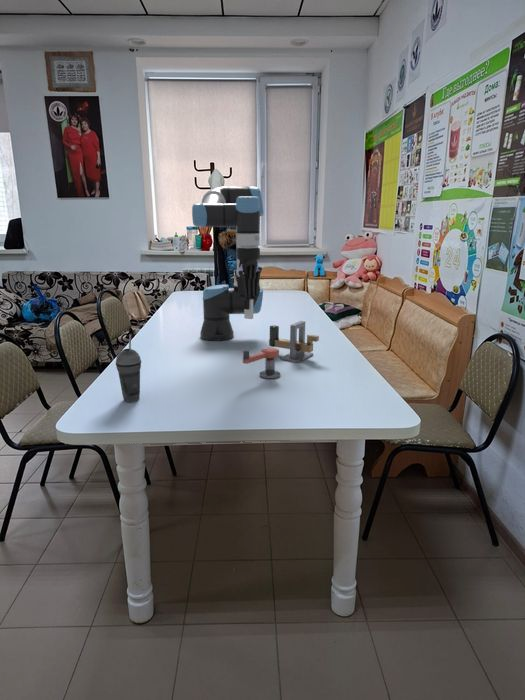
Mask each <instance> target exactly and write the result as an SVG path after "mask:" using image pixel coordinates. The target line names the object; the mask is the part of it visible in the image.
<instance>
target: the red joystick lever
mask: <svg viewBox="0 0 525 700" xmlns="http://www.w3.org/2000/svg"><path fill="white" fill-rule="evenodd" d="M279 356H280V350H279V349H278V348H275V347H266V348H262V349H261V351H260V352H258V353H254V354H250V350H243V351H242V363H243V364H246V365H248V364H251V363H253V362H257V361H261V360H263V359H265V358H275V359H276V358H278V357H279Z"/></svg>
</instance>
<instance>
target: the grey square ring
mask: <svg viewBox="0 0 525 700" xmlns="http://www.w3.org/2000/svg"><path fill="white" fill-rule="evenodd" d="M289 330H290V332H289V333H290V334H289V340H290V349H289V353H287V354H285V355H282V356H281V357H280V360H281V361H286V362H292V363H298V364H300V363H302V362H303V361H305V360H307V359H309V358H311V357H312V356H314V352H310V353H309V352H303V351H297V350H296V349H297V341H299V342H305V343H306V321H304V320H299V321H297V322H294V323H292V324H290V327H289ZM297 337H298V339H297Z"/></svg>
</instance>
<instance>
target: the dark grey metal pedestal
mask: <svg viewBox="0 0 525 700" xmlns="http://www.w3.org/2000/svg"><path fill="white" fill-rule="evenodd" d="M264 359H265V361H264V365H265V367H264V368H265V370H262V371H260V372H259V377H260V378H262V379H264V380H275V379H279V378H280V377H281V372H279V370H278V371H277V370H276V368H275V366H276V360H275V359H276V358H264Z"/></svg>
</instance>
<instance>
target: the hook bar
mask: <svg viewBox="0 0 525 700" xmlns="http://www.w3.org/2000/svg"><path fill="white" fill-rule="evenodd" d="M279 328H280V327H279V325H270V326H269V339H268V346H269V347H270V348H275V347H276V348H281V349H286V350H290V339H285V338H280V337H279V336H280V331H279V330H280V329H279ZM319 341H320V336H319V335H316V334H307V336H306V341H305V342H299V340H297V349H296V350H297V351H303V352H309V353H313V352H314V342H315V343H316V342H319Z"/></svg>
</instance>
